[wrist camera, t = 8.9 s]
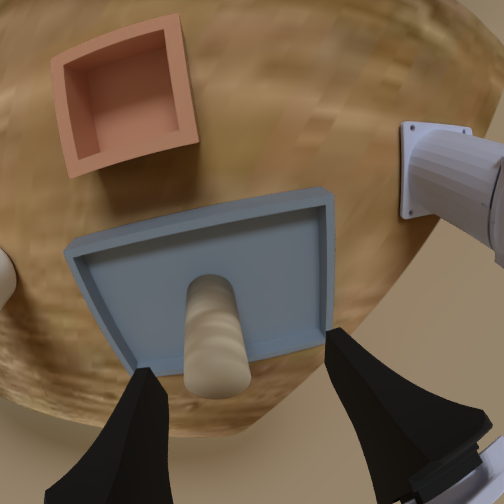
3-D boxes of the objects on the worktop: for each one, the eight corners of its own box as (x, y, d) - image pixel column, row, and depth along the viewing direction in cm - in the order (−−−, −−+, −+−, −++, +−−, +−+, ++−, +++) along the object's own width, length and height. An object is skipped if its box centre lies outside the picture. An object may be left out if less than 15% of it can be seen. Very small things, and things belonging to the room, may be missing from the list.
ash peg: (228, 269, 19) (245, 354, 12) (237, 307, 21) (255, 392, 14) (180, 279, 19) (173, 366, 12) (193, 316, 21) (195, 403, 14)
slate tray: (321, 186, 18) (333, 194, 17) (323, 326, 24) (331, 341, 23) (74, 238, 17) (62, 251, 15) (135, 362, 23) (132, 378, 21)
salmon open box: (183, 35, 12) (178, 12, 9) (200, 138, 16) (198, 142, 12) (79, 68, 12) (50, 58, 8) (95, 166, 15) (69, 179, 12)
